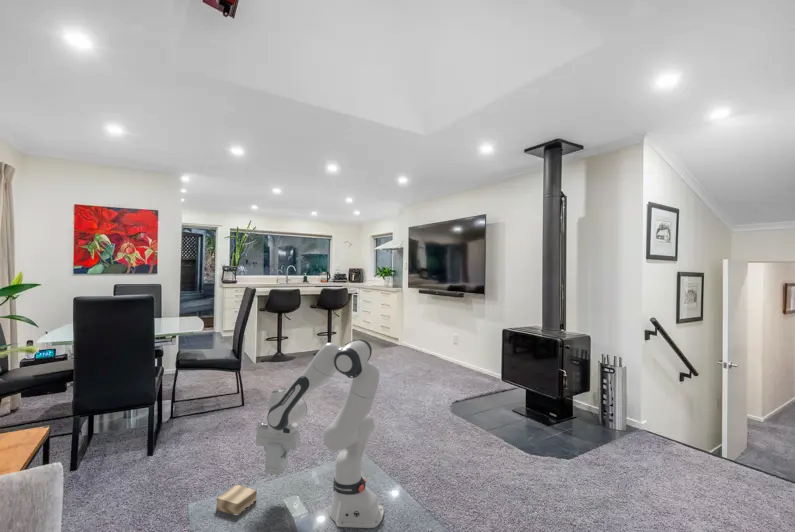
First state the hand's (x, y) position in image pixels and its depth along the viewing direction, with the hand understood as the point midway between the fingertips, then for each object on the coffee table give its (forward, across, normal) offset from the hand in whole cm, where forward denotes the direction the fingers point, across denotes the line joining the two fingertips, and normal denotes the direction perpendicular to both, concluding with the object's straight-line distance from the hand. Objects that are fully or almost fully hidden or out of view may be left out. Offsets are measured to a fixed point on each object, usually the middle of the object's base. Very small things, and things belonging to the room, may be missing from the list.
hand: (276, 457), depth 164 cm
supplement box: (+6, 0, 0) cm, 6 cm away
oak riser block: (+17, -12, -10) cm, 24 cm away
